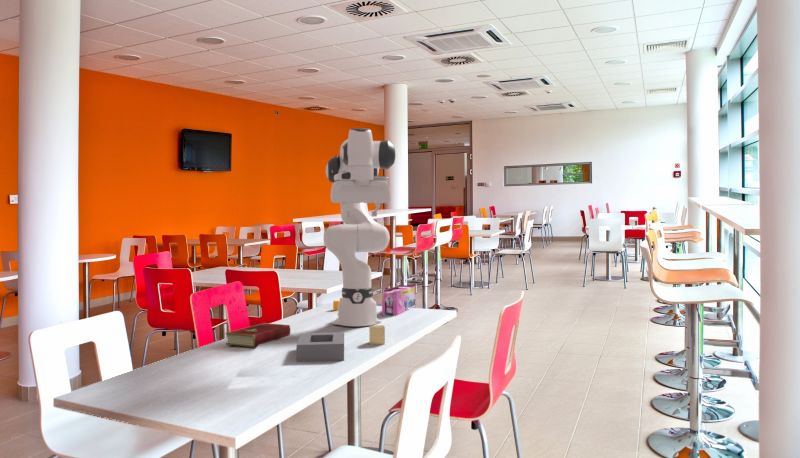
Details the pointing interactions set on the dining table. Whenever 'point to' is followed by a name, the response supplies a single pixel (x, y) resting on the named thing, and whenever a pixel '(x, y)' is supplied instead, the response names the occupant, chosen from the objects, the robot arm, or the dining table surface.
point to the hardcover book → (257, 334)
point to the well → (320, 347)
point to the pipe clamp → (336, 304)
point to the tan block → (377, 335)
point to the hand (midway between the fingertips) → (360, 216)
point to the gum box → (398, 299)
